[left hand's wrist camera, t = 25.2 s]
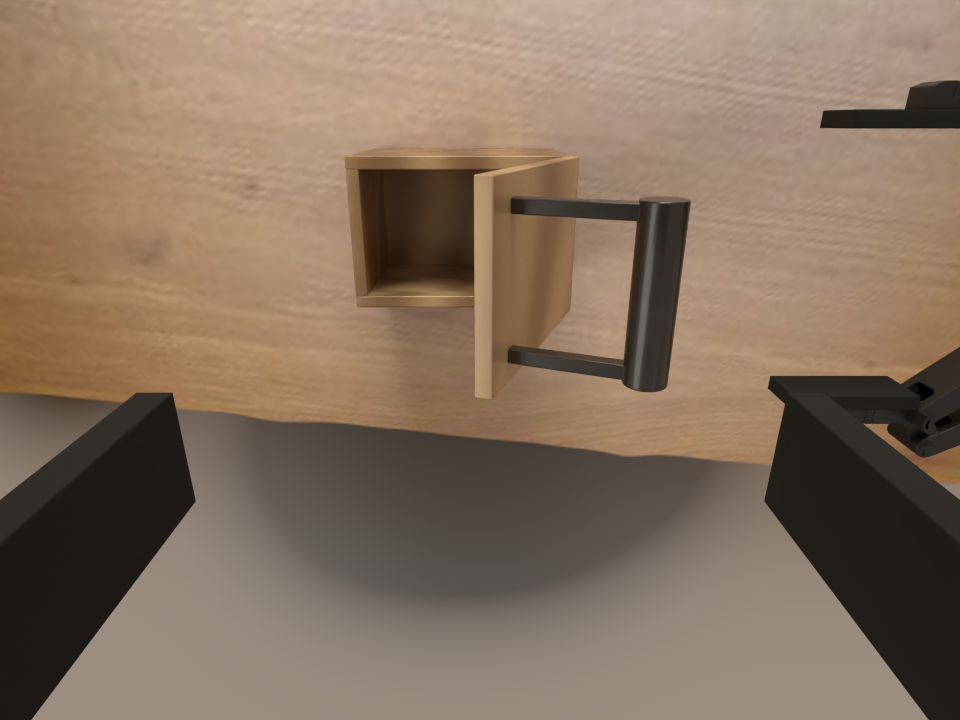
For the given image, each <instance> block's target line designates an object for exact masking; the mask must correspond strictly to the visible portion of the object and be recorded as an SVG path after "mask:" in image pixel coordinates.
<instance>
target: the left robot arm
mask: <svg viewBox="0 0 960 720" xmlns="http://www.w3.org/2000/svg"><path fill="white" fill-rule="evenodd" d="M195 501H196V500H195V496H194V491H193V487H192V482H191V477H190V472H189V468H188V463H187V458H186V454H185V449H184V444H183V440H182V435H181V430H180V426H179V421H178V416H177V412H176V407H175V402H174V398H173V393H136V394H134V395H133V396H132V397H131V398H129V399H128V400H127V401H126V402H124V403H123V404H122V405H120V406H119V407H118V408H117V409H115V410H114V411H113V412H112V413H110V414H109V415H108V416H106V417H105V418H104V419H103V420H101V421H100V422H99V423H98V424H96V425H95V426H94V427H92V428H91V429H90V430H89V431H87V432H86V433H85V434H84V435H82V436H81V437H80V438H78V439H77V440H76V441H75V442H73V443H72V444H71V445H70V446H68V447H67V448H66V449H64V450H63V451H62V452H61V453H59V454H58V455H57V456H55V457H54V458H53V459H52V460H50V461H49V462H48V463H47V464H45V465H44V466H43V467H41V468H40V469H39V470H38V471H36V472H35V473H34V474H33V475H31V476H30V477H29V478H28V479H26V480H25V481H24V482H22V483H21V484H20V485H19V486H17V487H16V488H15V489H13V490H12V491H11V492H10V493H8V494H7V495H6V496H5V497H3V498H2V499H1V500H0V720H31V719H32V718H33V717H34V715H35V714H36V713H37V711H38V710H39V709H40V707H41V706H42V705H43V703H44V702H45V701H46V700H47V698H48V697H49V696H50V694H51V693H52V692H53V690H54V689H55V688H56V686H57V685H58V684H59V682H60V681H61V680H62V678H63V677H64V676H65V674H66V673H67V672H68V670H69V669H70V668H71V666H72V665H73V664H74V662H75V661H76V660H77V658H78V657H79V656H80V654H81V653H82V652H83V650H84V649H85V648H86V646H87V645H88V644H89V642H90V641H91V640H92V638H93V637H94V636H95V634H96V633H97V632H98V630H99V629H100V628H101V626H102V625H103V624H104V622H105V621H106V620H107V618H108V617H109V616H110V614H111V613H112V612H113V610H114V609H115V608H116V606H117V605H118V604H119V602H120V601H121V600H122V598H123V597H124V596H125V594H126V593H127V592H128V590H129V589H130V588H131V587H132V585H133V584H134V582H135V581H136V580H137V579H138V577H139V576H140V574H141V573H142V572H143V571H144V569H145V568H146V567H147V565H148V564H149V563H150V561H151V560H152V559H153V557H154V556H155V555H156V553H157V552H158V551H159V549H160V548H161V547H162V545H163V544H164V543H165V541H166V540H167V539H168V537H169V536H170V535H171V533H172V532H173V531H174V529H175V528H176V527H177V525H178V524H179V523H180V521H181V520H182V519H183V517H184V516H185V515H186V513H187V512H188V511H189V509H190V508H191V507H192V505H193V504H194V503H195ZM765 503H766V504H767V505H768V507H769V508H770V509H771V511H772V512H773V513H774V515H775V516H776V517H777V519H778V520H779V521H780V523H781V524H782V525H783V527H784V528H785V529H786V531H787V532H788V533H789V535H790V536H791V537H792V539H793V540H794V541H795V543H796V544H797V545H798V547H799V548H800V549H801V551H802V552H803V553H804V555H805V556H806V557H807V559H808V560H809V561H810V563H811V564H812V565H813V567H814V568H815V569H816V571H817V572H818V573H819V575H820V576H821V577H822V578H823V580H824V581H825V582H826V584H827V585H828V586H829V588H830V589H831V590H832V592H833V593H834V594H835V596H836V597H837V598H838V600H839V601H840V602H841V604H842V605H843V606H844V608H845V609H846V610H847V612H848V613H849V614H850V616H851V617H852V618H853V620H854V621H855V622H856V624H857V625H858V626H859V628H860V629H861V630H862V632H863V633H864V634H865V636H866V637H867V638H868V640H869V641H870V642H871V644H872V645H873V646H874V648H875V649H876V650H877V652H878V653H879V654H880V656H881V657H882V658H883V660H884V661H885V662H886V664H887V665H888V666H889V668H890V669H891V670H892V672H893V673H894V674H895V676H896V677H897V678H898V680H899V681H900V682H901V683H902V685H903V686H904V688H905V689H906V690H907V692H908V693H909V694H910V696H911V697H912V698H913V699H914V701H915V702H916V704H917V705H918V706H919V707H920V709H921V710H922V711H923V713H924V714H925V715H926V717H927V718H928V719H929V720H960V500H959V499H958V498H957V497H955V496H954V495H953V494H952V493H950V492H949V491H948V490H947V489H945V488H944V487H943V486H941V485H940V484H939V483H938V482H936V481H935V480H934V479H933V478H931V477H930V476H929V475H927V474H926V473H925V472H924V471H922V470H921V469H920V468H919V467H917V466H916V465H915V464H913V463H912V462H911V461H910V460H908V459H907V458H906V457H905V456H903V455H902V454H901V453H899V452H898V451H897V450H896V449H894V448H893V447H892V446H891V445H889V444H888V443H887V442H885V441H884V440H883V439H882V438H880V437H879V436H878V435H877V434H875V433H874V432H873V431H871V430H870V429H869V428H868V427H866V426H865V425H864V424H862V423H861V422H860V421H859V420H857V419H856V418H855V417H854V416H852V415H851V414H850V413H848V412H847V411H846V410H845V409H843V408H842V407H841V406H840V405H838V404H837V403H836V402H834V401H833V400H832V399H831V398H829V397H828V396H827V395H826V394H824V393H787V398H786V402H785V407H784V412H783V416H782V421H781V426H780V430H779V435H778V440H777V444H776V449H775V454H774V458H773V463H772V468H771V472H770V477H769V482H768V487H767V491H766V496H765Z"/></svg>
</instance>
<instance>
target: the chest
mask: <svg viewBox="0 0 960 720" xmlns="http://www.w3.org/2000/svg"><path fill="white" fill-rule="evenodd" d="M565 156H569V155H566V154H564V153H561V152H558V151H555V150H553V149H373V150H368V151H364V152H360V153H356V154H352V155H348V156H345V167H346V169H347V170H346V180H347V192H348V204H349V216H350V229H351V241H352V253H353V265H354V278H355V290H356V301H357V307H474V175H475V174H480V173H485V172H490V171H495V170H500V169H505V168H510V167H515V166H520V165H525V164H530V163H535V162H540V161H545V160H550V159H555V158H560V157H565Z"/></svg>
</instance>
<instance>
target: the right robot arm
mask: <svg viewBox="0 0 960 720" xmlns="http://www.w3.org/2000/svg"><path fill="white" fill-rule="evenodd" d="M820 128H960V81H936V82H925V83H921V84H918V85H916V86H913V87H911V88H910V91H909V95H908V99H907V103H906V107H905V110H830V111H823V115H822V120H821V125H820ZM768 389H769V390H770V391H771V392H773V393H774V394H775V395H776V396H777V397H778V398H779V399H780V400H781V401H782V402H783V403H784V404H785V402H786V398H787V393H824V394H826V395H827V396H828V397H829V398H831V399H832V400H833V401H834V402H836V403H837V404H838V405H840V406H841V407H842V408H843V409H845V410H846V411H847V412H848V413H850V414H851V415H852V416H854V417H855V418H856V419H857V420H859V421H860V422H861V423H862V424H863V423H865V424H871V423H872V424H888V427H887V431H888V433H889V434H890V435H892V436H893V437H894V438H896V439H897V440H898V441H900V442H901V443H902V444H904V445H905V446H906V447H907V448H909V449H910V450H911V451H913V452H914V453H915V454H917V455H918V456H920V457H929V456H932V455H935V454H937V453H940V452H943V451H945V450H948V449H951V448H953V447H956V446H958V445H960V347H959V348H957V349H956V350H954V351H953V352H951V353H950V354H948V355H946V356H945V357H943V358H942V359H940V360H938V361H937V362H935V363H934V364H932V365H931V366H929V367H927V368H926V369H924V370H923V371H921V372H919V373H918V374H916V375H915V376H913V377H911V378H910V379H908V380H907V381H905V382H904V383H902V384H899V383H898V382H896V381H894V380H893V379H891V378H890V377H888V376H770V381H769V386H768ZM921 401H922V402H921Z"/></svg>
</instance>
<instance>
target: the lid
mask: <svg viewBox="0 0 960 720" xmlns="http://www.w3.org/2000/svg"><path fill="white" fill-rule="evenodd" d="M578 169H579V157H578V156H565V157H560V158H555V159H550V160H545V161H540V162H535V163H530V164H525V165H520V166H515V167H510V168H505V169H500V170H495V171H490V172H485V173H480V174H475V175H474V317H475V397H476V398H481V399H487V400H493V398H494V397H495V396H496V395H497V394H498V393H499V392H500V390H501V389H502V388H503V387H504V386H505V385H506V383H507V382H508V381H509V380H510V379H511V378H512V377H513V375H514V374H515V373H516V372H517V371H518V370H519V368H520V367H521V366H522V365H524V366H531V367H538V368H544V369H551V370H558V371H565V372H572V373H579V374H585V375H592V376H599V377H606V378H613V379H620V380H622V383H623V384H624V385H625V386H626V387H628V388H630V389H633V390H636V391H641V392H658V391H662V390H664V389H665V388H666V387H667V383H668V376H669V368H670V360H671V352H672V345H673V337H674V329H675V321H676V314H677V306H678V298H679V290H680V283H681V275H682V267H683V259H684V252H685V244H686V236H687V228H688V221H689V213H690V205H691V201H690V200H689V199H685V198H679V197H644V198H641V199H640V200H639V201H623V200H600V199H577V186H578ZM576 218H590V219H608V220H626V221H637V228H636V238H635V248H634V259H633V269H632V279H631V289H630V300H629V310H628V320H627V331H626V341H625V351H624V360H620V359H613V358H605V357H598V356H590V355H583V354H576V353H568V352H561V351H553V350H546V349H538V347H539V345H540V344H541V343H542V342H543V341H544V340H545V338H546V337H547V336H548V335H549V334H550V333H551V332H552V330H553V329H554V328H555V327H556V326H557V325H558V323H559V322H560V321H561V320H562V319H563V318H564V317H565V315H566V314H567V313H568V312H569V311H570V305H571V288H572V271H573V254H574V237H575V220H576Z"/></svg>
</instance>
